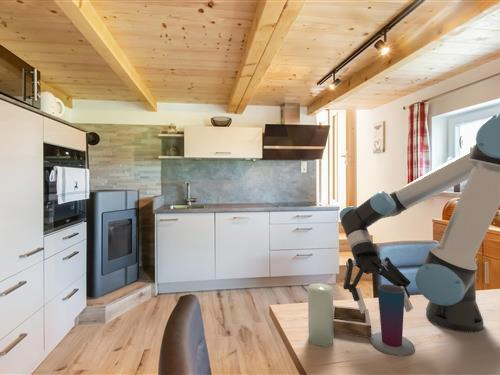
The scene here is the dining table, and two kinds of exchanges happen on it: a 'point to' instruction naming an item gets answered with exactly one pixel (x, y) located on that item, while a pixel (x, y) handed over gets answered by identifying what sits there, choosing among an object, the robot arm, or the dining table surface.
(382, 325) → the cup
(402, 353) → the felt pad
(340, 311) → the wooden tray box
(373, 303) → the dining table surface
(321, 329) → the pillar candle
